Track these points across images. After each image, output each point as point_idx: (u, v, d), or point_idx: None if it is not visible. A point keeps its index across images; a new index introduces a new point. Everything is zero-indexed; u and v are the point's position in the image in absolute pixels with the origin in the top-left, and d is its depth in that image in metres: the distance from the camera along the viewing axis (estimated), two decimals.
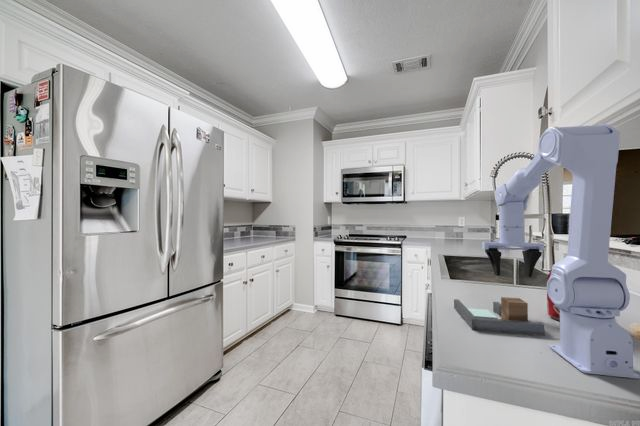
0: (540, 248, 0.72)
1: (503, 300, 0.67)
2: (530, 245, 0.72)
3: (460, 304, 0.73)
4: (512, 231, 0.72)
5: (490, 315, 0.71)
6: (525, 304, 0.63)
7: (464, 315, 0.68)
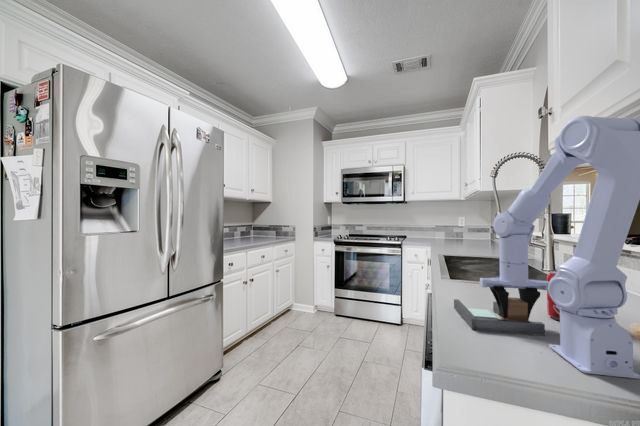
0: (546, 288, 0.63)
1: None
2: (534, 284, 0.63)
3: (460, 304, 0.73)
4: (514, 268, 0.63)
5: (490, 315, 0.71)
6: (525, 304, 0.63)
7: (464, 315, 0.68)
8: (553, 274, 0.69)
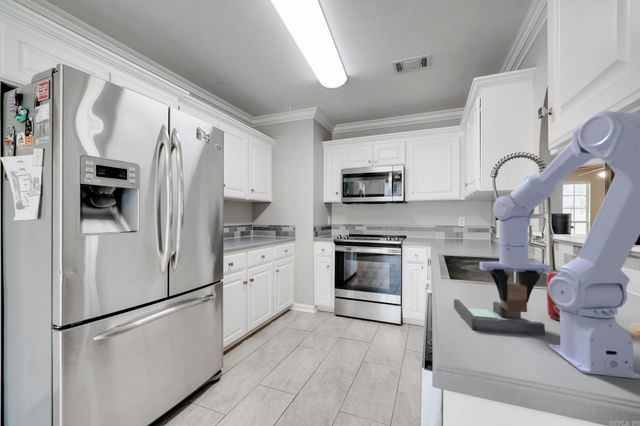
0: (546, 270, 0.63)
1: None
2: (534, 267, 0.63)
3: (460, 304, 0.73)
4: (514, 251, 0.63)
5: (490, 315, 0.71)
6: (524, 288, 0.63)
7: (464, 315, 0.68)
8: (553, 274, 0.69)
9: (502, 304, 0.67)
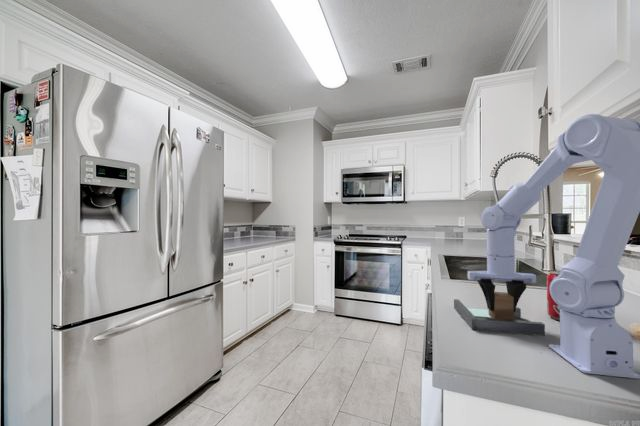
0: (532, 280, 0.64)
1: None
2: (521, 277, 0.63)
3: (460, 304, 0.73)
4: (500, 261, 0.64)
5: None
6: (511, 298, 0.64)
7: (464, 315, 0.68)
8: (553, 274, 0.69)
9: (490, 313, 0.68)
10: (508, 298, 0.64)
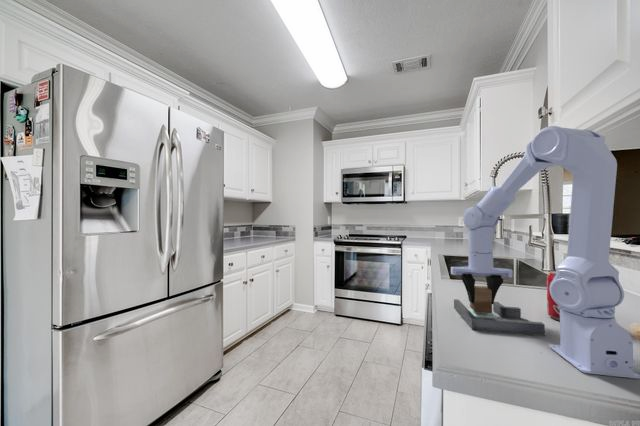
0: (509, 275, 0.70)
1: None
2: (498, 272, 0.69)
3: (460, 304, 0.73)
4: (480, 257, 0.70)
5: (490, 315, 0.71)
6: (489, 291, 0.70)
7: (464, 315, 0.68)
8: (553, 274, 0.69)
9: (471, 306, 0.73)
10: (487, 291, 0.70)
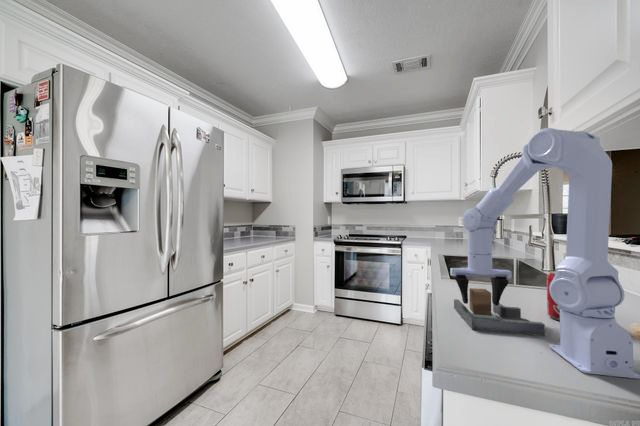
0: (508, 276, 0.70)
1: (471, 291, 0.74)
2: (497, 273, 0.70)
3: (460, 304, 0.73)
4: (479, 258, 0.70)
5: None
6: (489, 294, 0.70)
7: (464, 315, 0.68)
8: (553, 274, 0.69)
9: (470, 308, 0.74)
10: (486, 294, 0.70)
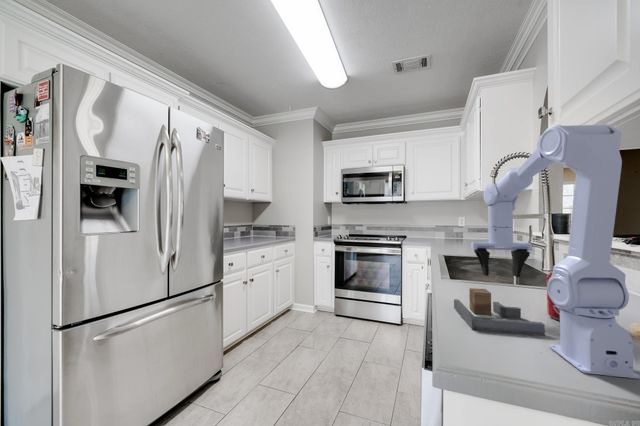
0: (528, 248, 0.72)
1: (471, 291, 0.74)
2: (518, 245, 0.72)
3: (460, 304, 0.73)
4: (500, 231, 0.72)
5: None
6: (489, 294, 0.70)
7: (464, 315, 0.68)
8: None
9: (470, 308, 0.74)
10: (486, 294, 0.70)
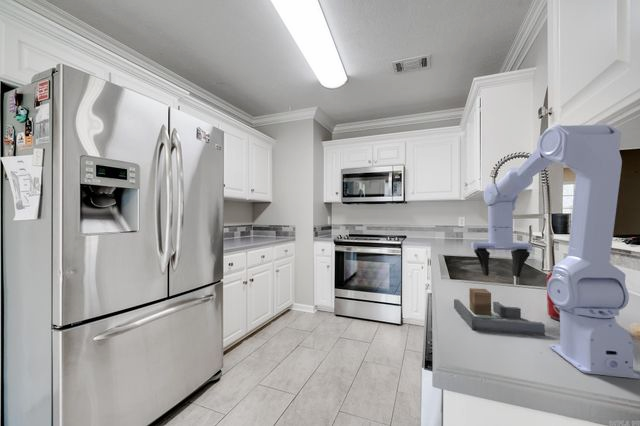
0: (528, 248, 0.72)
1: (471, 291, 0.74)
2: (518, 245, 0.72)
3: (460, 304, 0.73)
4: (500, 231, 0.72)
5: None
6: (489, 294, 0.70)
7: (464, 315, 0.68)
8: None
9: (470, 308, 0.74)
10: (486, 294, 0.70)
